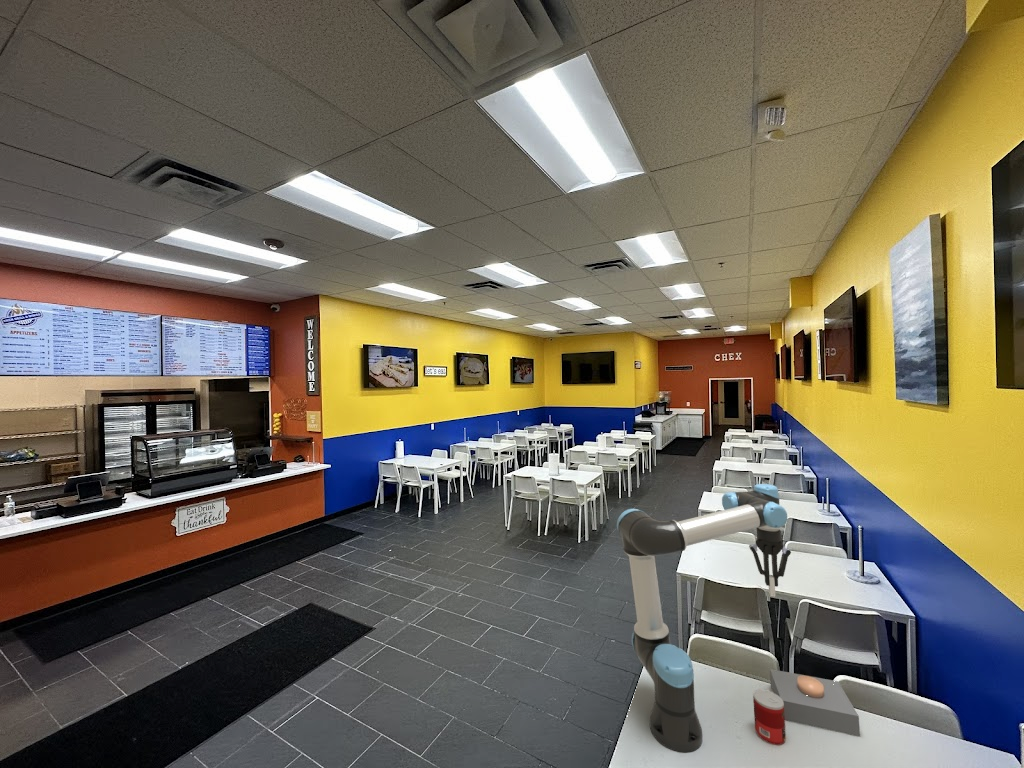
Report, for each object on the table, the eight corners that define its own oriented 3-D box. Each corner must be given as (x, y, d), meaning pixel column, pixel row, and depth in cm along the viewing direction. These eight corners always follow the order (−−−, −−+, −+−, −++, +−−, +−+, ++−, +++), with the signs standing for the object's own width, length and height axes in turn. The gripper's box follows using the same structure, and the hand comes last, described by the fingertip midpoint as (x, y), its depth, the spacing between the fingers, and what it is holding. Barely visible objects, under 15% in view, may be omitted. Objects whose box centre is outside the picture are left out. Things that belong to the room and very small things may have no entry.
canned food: (790, 747, 119) (788, 709, 120) (760, 743, 121) (758, 705, 121) (779, 726, 127) (777, 690, 127) (751, 723, 128) (749, 687, 129)
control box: (782, 719, 130) (781, 700, 130) (770, 686, 144) (769, 669, 145) (860, 736, 122) (858, 716, 123) (839, 699, 137) (838, 681, 137)
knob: (802, 712, 131) (800, 687, 132) (795, 697, 138) (794, 673, 138) (828, 717, 129) (826, 692, 129) (820, 702, 135) (819, 678, 136)
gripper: (749, 529, 145) (753, 596, 144) (792, 533, 140) (796, 602, 139) (746, 523, 152) (749, 587, 151) (786, 526, 147) (790, 592, 146)
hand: (772, 594), depth 145 cm, fingers closed
